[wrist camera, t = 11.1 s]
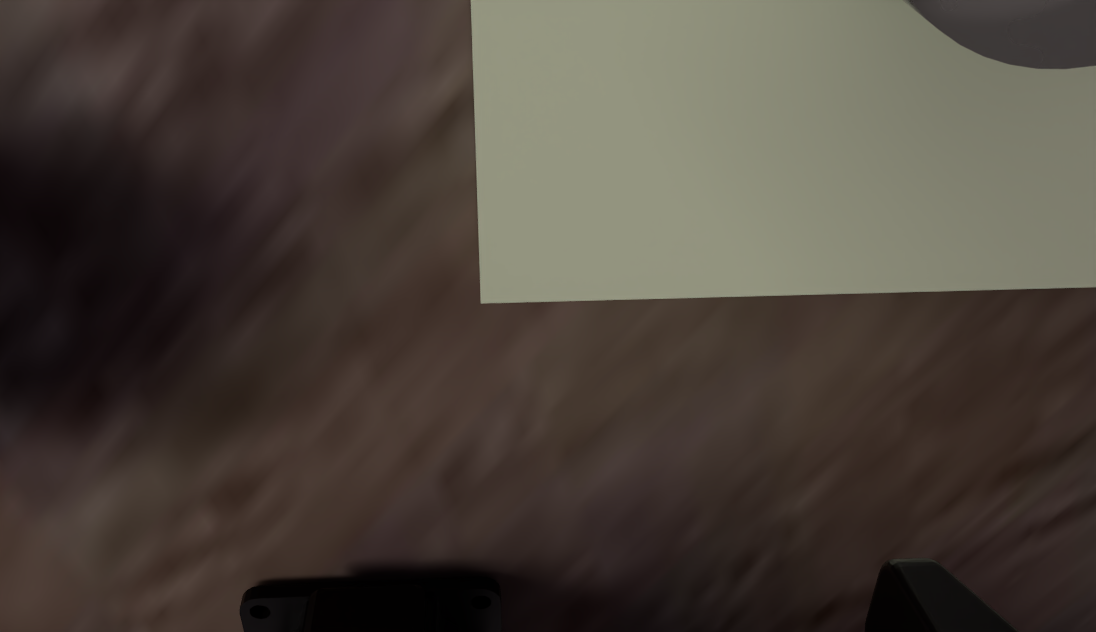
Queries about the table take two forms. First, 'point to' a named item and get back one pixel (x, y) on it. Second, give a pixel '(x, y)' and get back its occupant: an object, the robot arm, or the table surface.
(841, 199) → the dial plate
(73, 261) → the table surface
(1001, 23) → the dial
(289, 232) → the table surface
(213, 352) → the table surface
